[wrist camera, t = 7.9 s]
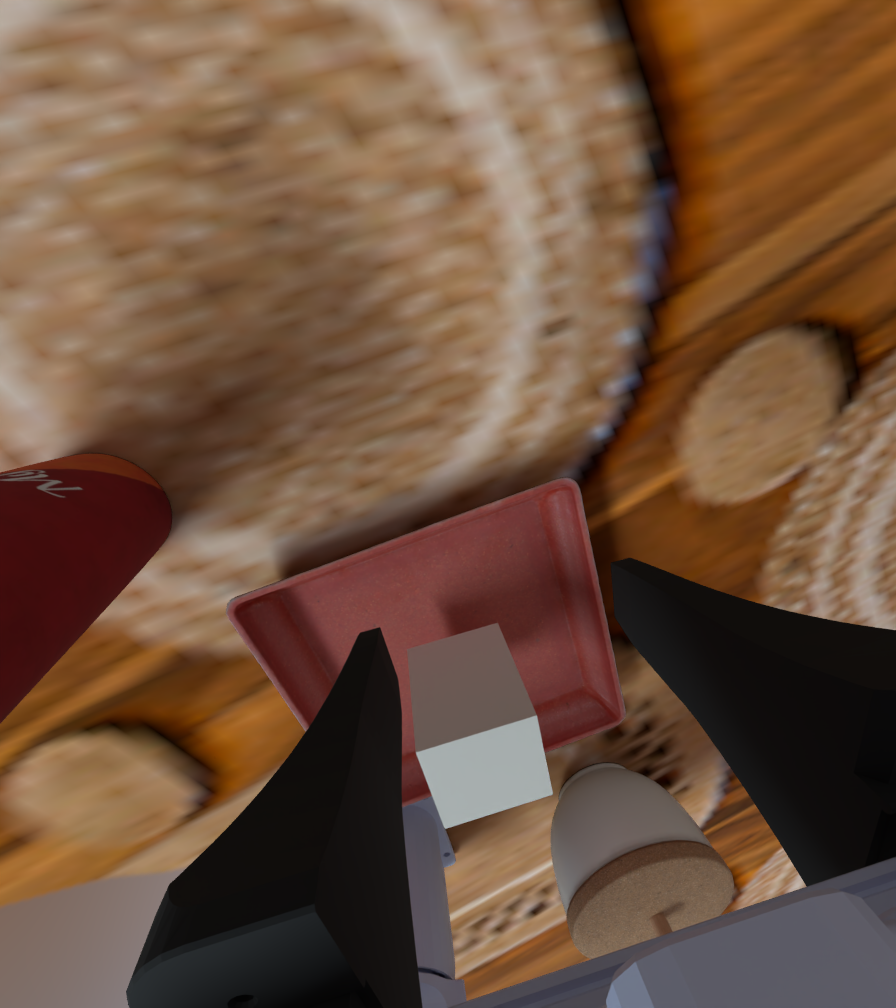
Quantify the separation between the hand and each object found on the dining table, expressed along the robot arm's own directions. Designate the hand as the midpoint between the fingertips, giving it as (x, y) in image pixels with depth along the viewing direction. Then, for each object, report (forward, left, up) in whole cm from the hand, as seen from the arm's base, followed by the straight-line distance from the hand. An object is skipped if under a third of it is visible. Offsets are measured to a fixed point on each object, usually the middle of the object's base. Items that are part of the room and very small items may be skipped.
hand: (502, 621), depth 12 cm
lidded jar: (-27, -6, -11) cm, 30 cm away
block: (-9, +2, -8) cm, 12 cm away
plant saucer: (-9, +2, -11) cm, 15 cm away
